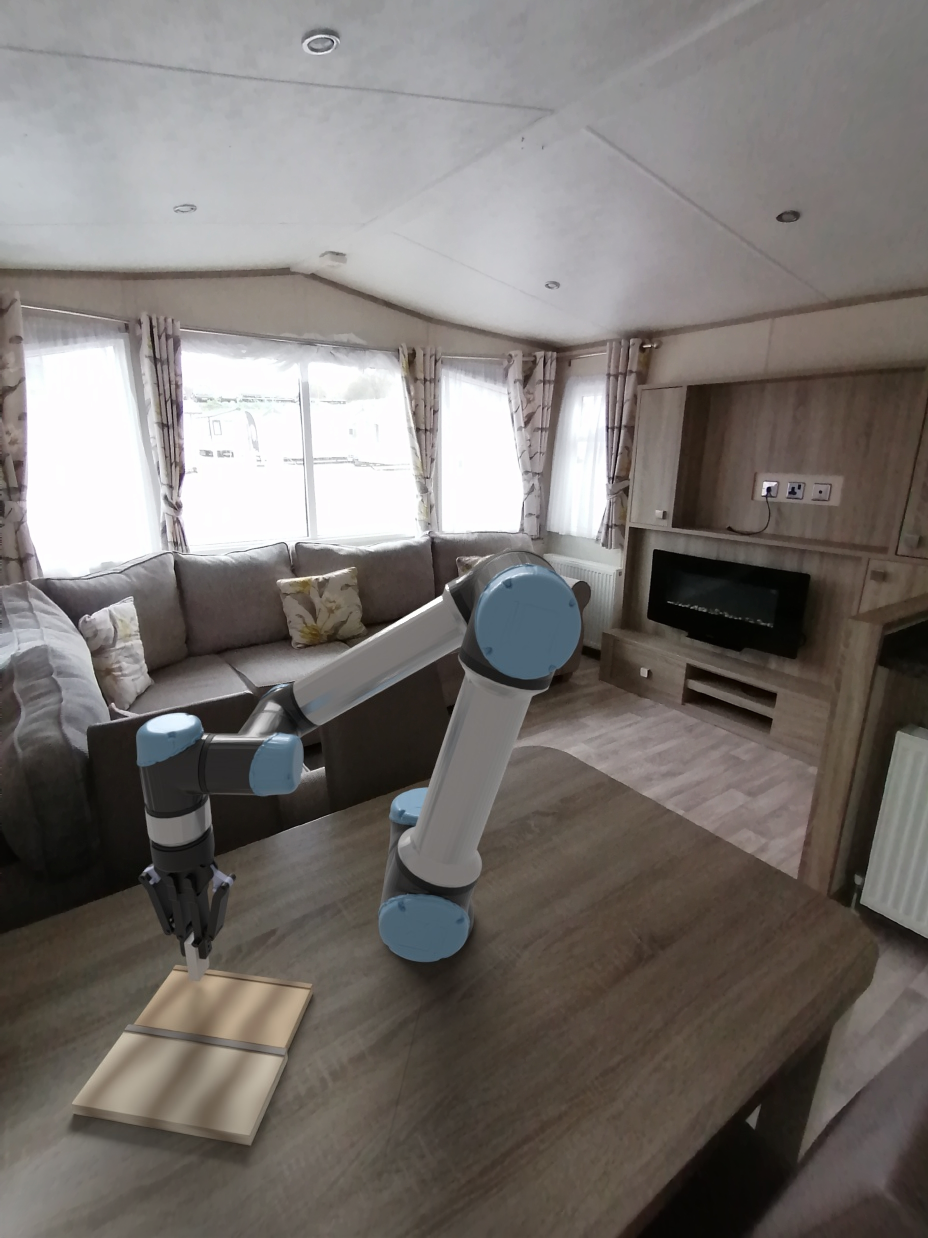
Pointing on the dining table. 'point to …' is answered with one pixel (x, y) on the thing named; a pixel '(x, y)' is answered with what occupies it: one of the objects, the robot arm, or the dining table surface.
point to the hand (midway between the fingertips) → (199, 973)
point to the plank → (229, 1007)
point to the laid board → (184, 1084)
